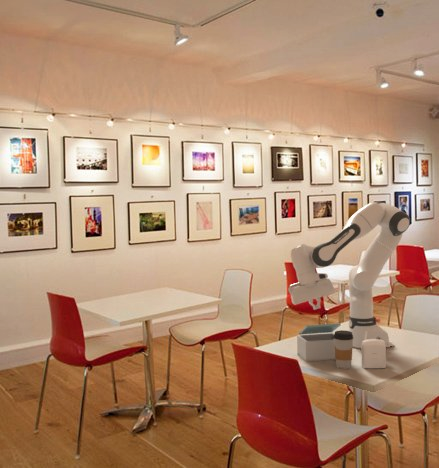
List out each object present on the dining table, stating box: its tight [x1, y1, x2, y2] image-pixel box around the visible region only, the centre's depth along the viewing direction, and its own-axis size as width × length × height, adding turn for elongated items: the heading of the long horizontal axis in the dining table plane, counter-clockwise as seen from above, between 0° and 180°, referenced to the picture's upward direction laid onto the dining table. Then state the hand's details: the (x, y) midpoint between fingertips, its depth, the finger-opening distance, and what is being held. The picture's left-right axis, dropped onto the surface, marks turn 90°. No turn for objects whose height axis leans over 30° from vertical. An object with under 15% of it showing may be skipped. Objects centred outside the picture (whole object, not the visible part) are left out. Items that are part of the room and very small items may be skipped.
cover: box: [298, 323, 342, 335], centre depth 247 cm, size 16×12×1 cm
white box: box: [296, 332, 336, 362], centre depth 247 cm, size 18×12×9 cm
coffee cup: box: [334, 330, 354, 370], centre depth 231 cm, size 8×8×15 cm
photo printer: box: [360, 339, 387, 369], centre depth 229 cm, size 10×4×12 cm, turn 86°
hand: (317, 308), depth 243 cm, fingers closed
